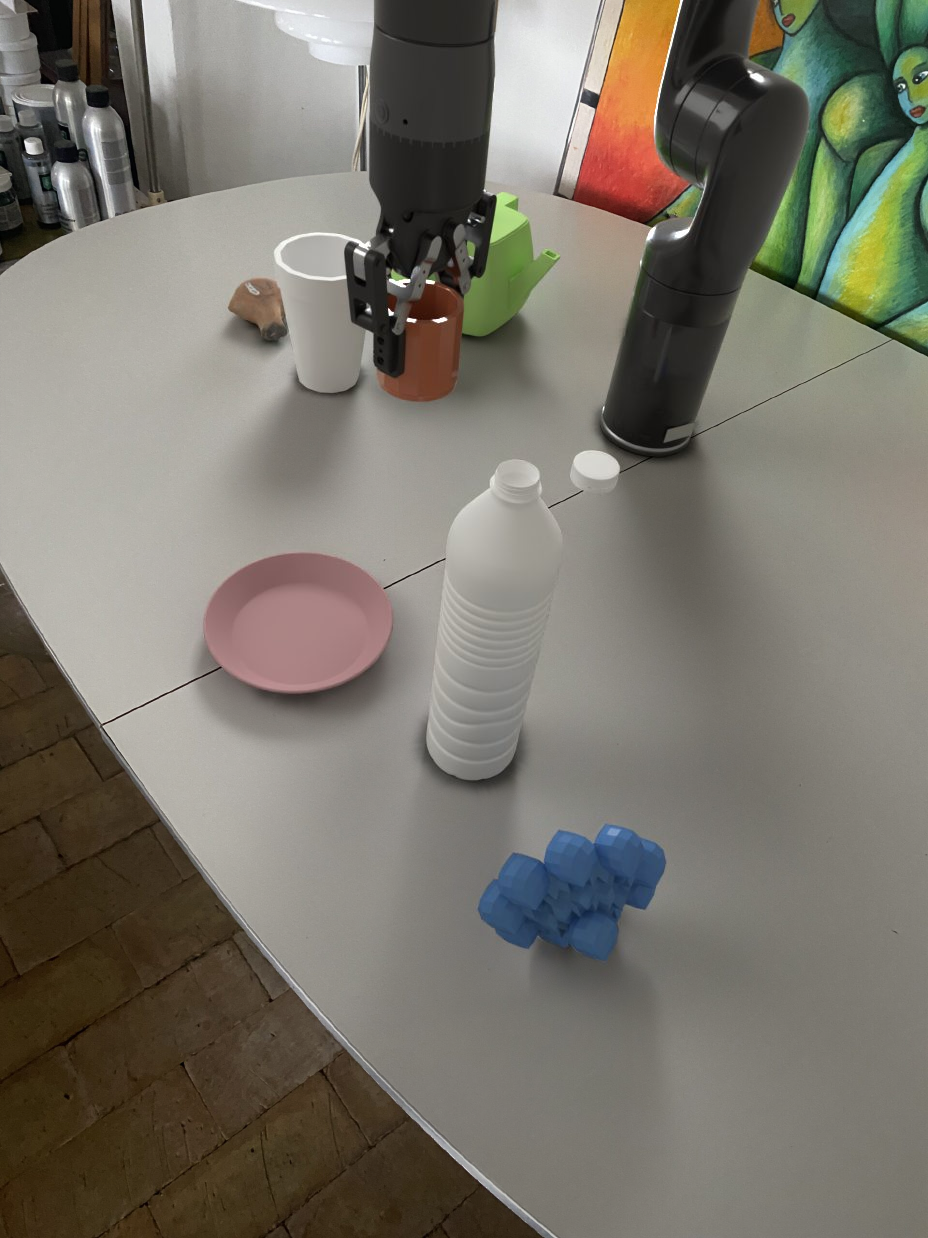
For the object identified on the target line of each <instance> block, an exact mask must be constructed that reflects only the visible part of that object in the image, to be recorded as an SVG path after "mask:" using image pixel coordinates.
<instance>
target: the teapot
mask: <svg viewBox="0 0 928 1238" xmlns="http://www.w3.org/2000/svg"><path fill="white" fill-rule="evenodd" d="M495 195H496V197H497V204H496V210H495V216H494V222H493V228H492V234H491V239H490V245H489V251H488V257H487V263H486V269H485V272H484V274H483V276H482V277H481V278H477V277H475V276H474V277H473V278H472V280H471V287H470V289H469V291H468V292H467V293H466V294H464V315H463V326H462V335H463V334H464V335H469V336H474V337H484V336H487V335H489V334H491V333H492V332H495V331H496V330H497V329H499V328H500V327H501V326H503V325H504V324H506V323H507V322H508V321H509V320H511V319H512V318H513V317H514V316H515V315H516V314H517V313H519V312H520V311H521V309H523V307H524V306H525V304H526V302H527V301H528V299H529V297H530V295H531V293H532V290H534V289H535V287H536V286H537V285H538V284H539V283H540V281H542V280H543V278H544V277H545V276H546V274H548V272H549V271H550V270H551V269H552V268H553V267H554V266H555V264H556V263H557V262H558V261H559V260H560V259H561V254H559V253H557V252H555V251H554V250H552V249H549V248H548V247H547V248H545V249H543V251H541V252H540V255H539V256H537V257H536V258H535V257H534V245H533V237H532V229H531V224H530V219H529V218H528V217H527V216H526V215H525V214H523V213H522V212H520V211H519V196H516V195H514V194H511V193H509V192H506V191H501V192H500V193H497V194H495ZM467 250H468V253H469V256H471V257H473V258H474V252H475V245H474V243H472V242H470V241H467ZM391 277H392V279H393V280H394V281H396V282H398V281H401V280H410V279H408V278H405V277H403V276H401V275H399V274H397V273H396V272H395V271H394V270H393V269H392V272H391ZM427 280H429V281H435V282H436V279H435V276H434V273H433V274H432V275H431V276H430V277H429V278H428V279H427Z"/></svg>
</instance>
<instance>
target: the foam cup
mask: <svg viewBox="0 0 928 1238" xmlns="http://www.w3.org/2000/svg"><path fill="white" fill-rule="evenodd" d="M351 240H353V241H356V242H358V243H360V244H364V243H365V242H363V241H361V240H360V239H357V238H354V237H351V236H348V235H344V234H341V233H333V232H319V231H315V232H310V233H309V232H308V233H301V234H296V235H293V236H291V237H289V238H287V239H284V240H282V241H281V242H280V243H279V244H278V245H277V246H276V248H275V249H274V250H273V261H274V264H273V265H274V275H275V281H277V286H278V287H279V288H280V291H281V296H282V300H283V305H284V310H285V315H286V317H285V320H286V324H287V331H288V334H289V339H290V343H291V350H292V353H293V358H294V359H293V360H294V363H295V367H296V368H295V369H296V373H297V376H298V381H299V383H301V385H303V386H304V387H305V388H306V389H309V390H312V391H314V392H316V393H324V394H335V393H339V392H344V391H347V390H349V389H350V388H353V387H354V386H355V385H356V384H357V381H358V380H359V377H360V376H359V375H360V373H361V372H360V371H361V365H362V360H363V352H364V345H365V338H366V332H367V330H366V329H364V328H362V327H360V326H358V325H356V324H354V323H352V322H351V317H350V307H349V297H348V288H347V278H346V268H345V259H344V249H345V246H346V244H347V243H348V242H349V241H351ZM366 304H367V309H368V308H370V305H369V304H368V303H366Z"/></svg>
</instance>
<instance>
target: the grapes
mask: <svg viewBox="0 0 928 1238" xmlns="http://www.w3.org/2000/svg"><path fill="white" fill-rule="evenodd" d="M593 842H594V843H593ZM593 842H592V841H591V840H590V839H589V838H588V837H586V836H584V835H581V834H579V833H576V832H572V831H568V830H561V829H558V830H557V832H556V833H554V835H553V836H552V838H551V839H550V841H549V842H548V844H547V846H546V849H545V851H544V856H543V861H541V860H540V859H537V858H535V857H532V856H529V855H526V854H523V853H519V852H512V853H511V854H510V855H509V857H508V858H507V859H506V860H505V862H504V863H503V865H502V866H501V869H500V870H499V872H498V878H493V879H492V880H491V881H490V883H488V885H487V886H486V888H485V889H484V891H483V893H482V894H481V896H480V898H479V902H478V906H477V912H478V915H479V918H480V920H482V921H483V922H484V923H485V924H486V925H488V926H489V927H490V928H492V929H494V932H495V934H496V935H497V936H498V937H500V938H501V939H502V940H503V941H505V942H507V943H508V944H511V945H513V946H516V947H519V948H521V949H526V950H529V949H530V948H531V947H532V945H533V944H534V943H535V941H536V939H537V938H538V937H540V938H541V939H542V940H543V941H545V942H548V943H550V944H553V945H555V946H558V947H562V948H568V946H570V947H572V948H573V949H574V950H575V951H577V952H578V953H580V954H581V955H583V956H585V957H587V958H590V959H594V960H597V961H600V962H604V963H605V962H607V960H608V959H609V957H610V956H611V954H612V952H613V950H614V949H615V946H616V945H617V940H618V937H619V933H620V931H619V925H618V922H619V920H620V918H621V916H622V912H623V910H624V907H625V906H630V907H632V908H634V909H639V910H644V911H646V910H647V909H648V906H649V905H650V903H651V901H652V900H653V898H654V896H655V893H656V889H657V886H658V884H659V883H660V881H661V879H662V877H663V875H664V873H665V869H666V866H667V858H666V855H665V851H664V848H662V847H661V846H660V845H659V844H657V843H656V841H652V840H649V839H647V838H644V837H641V836H639V835H638V834H637V833H636V832H635V831H634V830H632V829H630V828H627V827H624V826H621V825H615V824H610V823H605V824H604V825H603V826H602V828H601V829H600V831H599V832H598V834H597V835H596V837H595V839H594V841H593Z"/></svg>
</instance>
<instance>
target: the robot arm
mask: <svg viewBox="0 0 928 1238" xmlns="http://www.w3.org/2000/svg"><path fill="white" fill-rule="evenodd" d="M760 2H761V0H680V3H679V7H678V12H677V16H676V19H675V20H676V21H675V23H674V28H673V32H672V36H671V40H670V45H669V49H668V53H667V57H666V60H665V61H666V62H665V65H664V69H663V73H662V78H661V81H660V87H659V91H658V96H657V101H656V107H655V112H654V113H655V114H654V120H653V121H654V122H653V141H654V148H655V151H656V154H657V157H658V159H659V160H660V162H661V164H662V165H663V166H664V167H666V169H668V170H669V171H670V172H672V173H673V174H674V175H676V176H677V177H678V178H680V179H682V180H683V181H685V182H687V183H688V184H689V185H691V186H693V187H695V188H697V189H699V190H700V191H702V194H701V198H700V201H699V204H698V206H697V209H696V212H695V214H694V216H679V217H678V215H677V216H676V215H674V214H670V216H669V214H668V213H667V211H666V210H664V212H663V214H662V215H663V216H664V217H667V218H668V217H669V218H668V219H665V220H662V221H660V222H658V223H656V224H655V225H654V226H653V227H652V228H651V229H650V230H649V232H648V234H647V236H646V238H645V242H644V246H643V249H642V254H641V259H640V262H639V265H638V270H637V273H636V278H635V282H634V285H633V290H632V294H631V299H630V303H629V306H628V311H627V315H626V319H625V323H624V326H623V331H622V335H621V339H620V342H619V347H618V350H617V354H616V359H615V362H614V365H613V371H612V375H611V377H610V378H611V379H610V383H609V386H608V390H607V394H606V398H605V402H604V406H603V408H602V410H601V415H600V419H599V425H600V428H601V431H602V433H603V434H604V435H605V437H606V438H607V439H608V440H610V441H611V442H612V443H613V444H615V445H616V446H618V447H619V448H621V449H623V450H626V451H627V452H630V453H634V454H637V455H640V456H641V455H642V456H646V457H647V456H648V457H665V456H666V457H667V456H672V455H675V454H677V453H679V452H681V451H683V450H684V449H685V448H686V447H687V446H688V445H689V443H690V440H691V437H692V434H693V431H694V428H695V426H696V423H697V422H696V419H697V417H698V414H699V411H700V408H701V405H702V403H703V401H704V397H705V394H706V391H707V389H708V385H709V383H710V380H711V377H712V374H713V371H714V368H715V365H716V362H717V360H718V357H719V354H720V351H721V348H722V345H723V342H724V339H725V336H726V333H727V332H728V327H729V325H730V322H731V318H732V317H733V313H734V310H735V307H736V304H737V301H738V299H739V295H740V293H741V289H742V287H743V285H744V282H745V279H746V275H747V273H748V271H749V269H750V267H751V265H752V264H753V263H754V261H755V259H756V258H757V256H758V255H759V253H760V252H761V250H762V248H763V246H764V245H765V243H766V241H767V239H768V237H769V235H770V232H771V229H772V227H773V224H774V221H775V219H776V216H777V215H778V212H779V209H780V206H781V204H782V202H783V199H784V197H785V195H786V192H787V190H788V189H789V188H788V187H789V185H790V183H791V180H792V178H793V175H794V173H795V171H796V168H797V165H798V163H799V161H800V158H801V155H802V153H803V149H804V146H805V143H806V140H807V136H808V135H807V134H808V131H809V127H810V116H811V109H810V107H811V106H810V102H809V97H808V95H807V93H806V92H805V90H804V89H803V87H802V86H801V85H799V84H798V83H796V82H795V81H793V80H792V79H790V78H788V77H786V76H784V75H781V74H779V73H777V72H776V71H773V70H771V69H770V68H766V67H765V66H763V65H760V64H758V63H756V62H755V61H752V60H750V47H751V42H752V41H751V40H752V36H753V31H754V26H755V21H756V17H757V13H758V11H759V6H760ZM498 10H499V0H373V31H372V41H371V49H370V57H369V67H368V68H369V69H368V70H369V71H368V72H369V73H368V99H369V100H368V112H369V113H368V129H369V130H368V182H369V186H370V188H371V190H372V192H373V193H374V195H375V197H376V199H377V201H378V204H379V206H380V212H379V213H380V214H379V218H378V222H377V225H376V228H375V236H373V237H372V238H370V239H369V240H367V241H366V242H363V243H364V244H360V243H358V242H356V241H353V240H351V241H349V242H348V243H347V244H346V246H345V249H344V259H345V268H346V278H347V288H348V297H349V307H350V317H351V322H352V323H354V324H356V325H358V326H360V327H362V328H364V329H366V331H368V332H370V333H372V349H373V350H372V362H373V366H374V367H375V368H376V370H377V369H378V370H379V371H381V372H383V373H385V374H387V375H389V376H390V377H392V378H397V377H399V376H400V375H402V374H403V373H404V367H405V340H406V331H405V330H404V328H405V326H406V322H407V319H408V316H409V313H410V310H411V307H412V305H413V304H414V303H417V302H419V301H420V299H421V296H422V293H423V290H424V287H425V284H426V281H427V279H428V278H429V277H430V276H431V275H432V274H433V273H434V276H435V279H436V282H439V283H442V284H444V285H446V286H449V287H451V288H453V289H455V290H456V291H457V292H458V294H459V295H460V296H461V297H462V298H463V301H464V294H466V293H467V292H468V291H469V289H470V287H471V280H472V278H473V277H474V276H475V277H477V278H481V277H482V276H483V274H484V272H485V269H486V263H487V257H488V251H489V245H490V239H491V234H492V228H493V222H494V216H495V210H496V204H497V197H496V195H497V194H494V193H492V192H488V191H487V190H485V189H486V179H487V178H486V177H487V168H488V167H487V166H488V157H489V149H490V148H489V147H490V139H491V137H490V136H491V127H492V118H493V117H492V115H493V106H494V96H495V87H496V86H495V85H496V84H495V83H496V32H497V20H498ZM467 241H470V242H472V243H474V245H475V252H474V258H473V257H471V256H469V253H468V250H467ZM392 269H393V270H394V271H395V272H396V273H397V274H399V275H401V276H403V277H405V278H408V279H410V282H409V284H408V285H407V286H404V285H402V284H400V283H398V282H396V281H394V280H393V279H392V277H391V272H392ZM390 294H392V295H395V296H396V297H397V304H396V307H395V310H394V313H392V312H389V309H388V300H389V297H390ZM366 303H368V304H369V305H370V306H369V308H368V309H367V304H366Z"/></svg>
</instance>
